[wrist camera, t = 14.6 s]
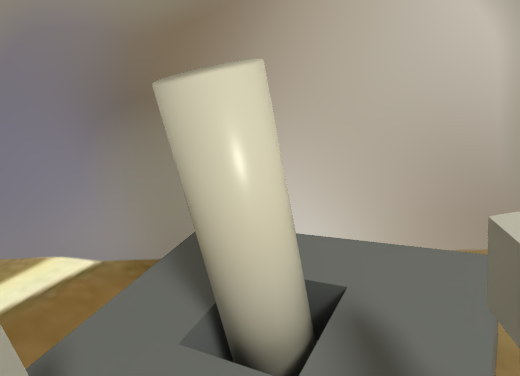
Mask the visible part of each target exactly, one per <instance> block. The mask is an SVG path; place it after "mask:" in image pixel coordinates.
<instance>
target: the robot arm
mask: <svg viewBox="0 0 520 376" xmlns="http://www.w3.org/2000/svg"><path fill="white" fill-rule="evenodd" d="M487 308H488V309H489V310H490V312H491V313H492V314H493V315H494V317H495V318H496V319H497V320H498V322H499V323H500V324H501V325H502V327H503V328H504V329H505V330H506V332H507V333H508V334H509V336H510V337H511V338H512V339H513V341H514V342H515V343H516V344H517V346H518V347H519V348H520V211H519V212H513V213H507V214H501V215H495V216H489V221H488V268H487ZM0 376H29V375H28V373H27V372H26V370H25V368H24V366H23V364H22V363H21V361H20V359H19V357H18V355H17V354H16V352H15V350H14V348H13V346H12V345H11V343H10V341H9V339H8V337H7V336H6V334H5V332H4V330H3V328H2V327H1V325H0Z"/></svg>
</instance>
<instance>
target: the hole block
mask: <svg viewBox="0 0 520 376" xmlns="http://www.w3.org/2000/svg"><path fill="white" fill-rule="evenodd" d="M296 238H297V243H298V249H299V254H300V259H301V265H302V270H303V276H304V281H305V286H306V292H307V297H308V303H309V308H310V313H311V319H312V324H313V330H314V335H315V340H316V346H315V347H314V349H313V351H312V353H311V355H310V357H309V358H308V360H307V362H306V364H305V366H304V367H303V369H302V371H301V373H300V375H299V376H495V369H496V355H497V341H498V320H497V319H496V318H495V317H494V315H493V314H492V313H491V312H490V310H489V309H488V308H487V268H488V255H485V254H476V253H467V252H458V251H449V250H440V249H430V248H422V247H412V246H404V245H395V244H386V243H376V242H368V241H359V240H350V239H341V238H332V237H323V236H313V235H304V234H296ZM25 370H26V372H27V373H28V375H29V376H273V375H270V374H267V373H264V372H261V371H258V370H254V369H251V368H248V367H245V366H242V365H239V364H236V363H234V362H233V358H232V355H231V352H230V348H229V345H228V341H227V338H226V334H225V331H224V328H223V324H222V321H221V317H220V314H219V311H218V307H217V304H216V300H215V297H214V294H213V290H212V287H211V283H210V280H209V277H208V273H207V270H206V266H205V263H204V260H203V256H202V253H201V249H200V246H199V243H198V239H197V236H196V232H194V233H193V234H192V235H190V236H189V237H188V238H187V239H185V240H184V241H183V242H182V243H180V244H179V245H178V246H177V247H176V248H174V249H173V250H172V251H171V252H170V253H168V254H167V255H166V256H165V257H163V258H162V259H161V260H160V261H158V262H157V263H156V264H155V265H153V266H152V267H151V268H150V269H148V270H147V271H146V272H145V273H144V274H142V275H141V276H140V277H139V278H137V279H136V280H135V281H134V282H132V283H131V284H130V285H129V286H127V287H126V288H125V289H124V290H123V291H121V292H120V293H119V294H118V295H116V296H115V297H114V298H113V299H111V300H110V301H109V302H108V303H107V304H105V305H104V306H103V307H102V308H100V309H99V310H98V311H97V312H95V313H94V314H93V315H92V316H91V317H89V318H88V319H87V320H86V321H84V322H83V323H82V324H81V325H79V326H78V327H77V328H76V329H75V330H73V331H72V332H71V333H70V334H68V335H67V336H66V337H65V338H63V339H62V340H61V341H60V342H59V343H57V344H56V345H55V346H54V347H52V348H51V349H50V350H49V351H47V352H46V353H45V354H44V355H42V356H41V357H40V358H39V359H38V360H36V361H35V362H34V363H33V364H31V365H30V366H29V367H28V368H26V369H25Z"/></svg>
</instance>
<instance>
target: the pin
mask: <svg viewBox="0 0 520 376" xmlns="http://www.w3.org/2000/svg"><path fill="white" fill-rule="evenodd" d="M152 86H153V89H154V93H155V96H156V99H157V103H158V106H159V110H160V113H161V117H162V120H163V123H164V127H165V130H166V133H167V137H168V140H169V143H170V147H171V151H172V154H173V158H174V161H175V164H176V167H177V171H178V175H179V178H180V181H181V185H182V188H183V192H184V195H185V198H186V202H187V205H188V209H189V212H190V215H191V219H192V222H193V226H194V229H195V232H196V236H197V239H198V243H199V246H200V249H201V253H202V256H203V260H204V263H205V266H206V270H207V273H208V277H209V280H210V283H211V287H212V290H213V294H214V297H215V300H216V304H217V307H218V311H219V314H220V317H221V321H222V324H223V328H224V331H225V334H226V338H227V341H228V345H229V348H230V352H231V355H232V358H233V362H234V363H236V364H239V365H242V366H245V367H248V368H251V369H254V370H258V371H261V372H264V373H267V374H270V375H273V376H299V375H300V373H301V371H302V369H303V367H304V366H305V364H306V362H307V360H308V358H309V357H310V355H311V353H312V351H313V349H314V347H315V346H316V340H315V335H314V330H313V324H312V319H311V313H310V308H309V303H308V297H307V292H306V286H305V281H304V276H303V270H302V265H301V259H300V254H299V249H298V243H297V238H296V233H295V228H294V222H293V216H292V211H291V206H290V201H289V195H288V189H287V184H286V179H285V173H284V168H283V162H282V157H281V152H280V146H279V141H278V135H277V130H276V125H275V119H274V114H273V109H272V103H271V98H270V92H269V87H268V81H267V76H266V71H265V65H264V60H263V59H248V60H240V61H233V62H228V63H222V64H217V65H212V66H208V67H204V68H199V69H195V70H190V71H187V72H183V73H179V74H175V75H172V76H169V77H166V78H163V79H160V80H158V81H155V82H153V83H152Z"/></svg>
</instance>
